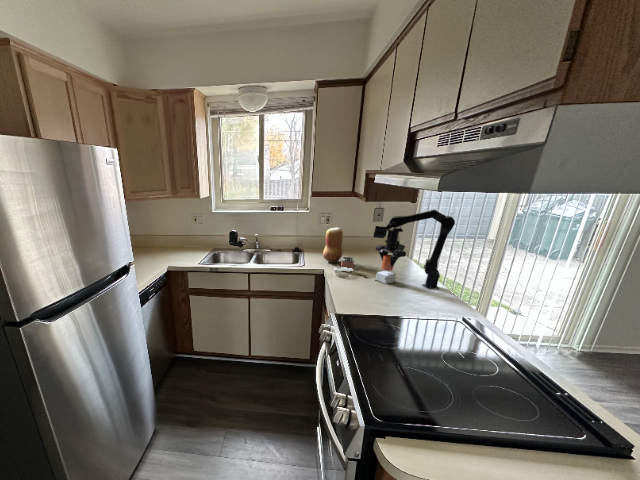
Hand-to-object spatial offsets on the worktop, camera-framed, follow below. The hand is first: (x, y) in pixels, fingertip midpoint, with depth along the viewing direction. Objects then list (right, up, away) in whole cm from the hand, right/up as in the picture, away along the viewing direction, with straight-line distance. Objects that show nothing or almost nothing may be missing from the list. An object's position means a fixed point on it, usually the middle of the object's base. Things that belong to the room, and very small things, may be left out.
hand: (388, 265), depth 189 cm
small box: (0, -10, +4) cm, 10 cm away
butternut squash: (-21, +7, +44) cm, 49 cm away
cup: (0, -2, +1) cm, 2 cm away
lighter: (-17, -2, +23) cm, 29 cm away
